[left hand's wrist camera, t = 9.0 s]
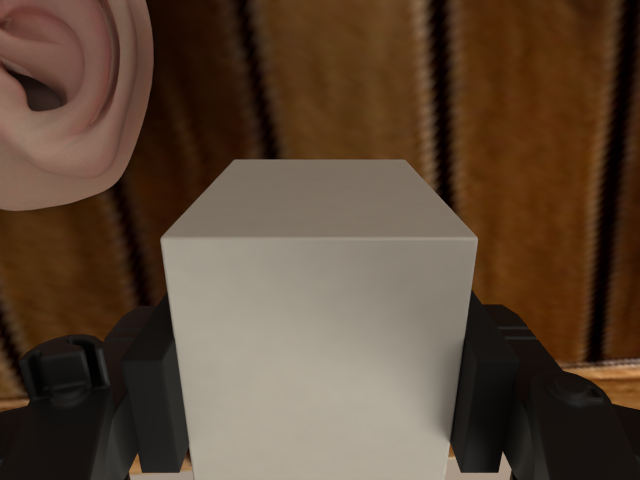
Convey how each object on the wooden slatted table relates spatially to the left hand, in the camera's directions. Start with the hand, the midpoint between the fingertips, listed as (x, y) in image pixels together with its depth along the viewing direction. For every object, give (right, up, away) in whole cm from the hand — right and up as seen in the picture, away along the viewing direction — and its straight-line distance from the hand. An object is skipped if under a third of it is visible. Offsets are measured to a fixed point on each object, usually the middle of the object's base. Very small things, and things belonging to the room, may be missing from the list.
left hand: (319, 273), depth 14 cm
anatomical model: (-13, +9, +6) cm, 17 cm away
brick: (0, 0, +1) cm, 2 cm away
